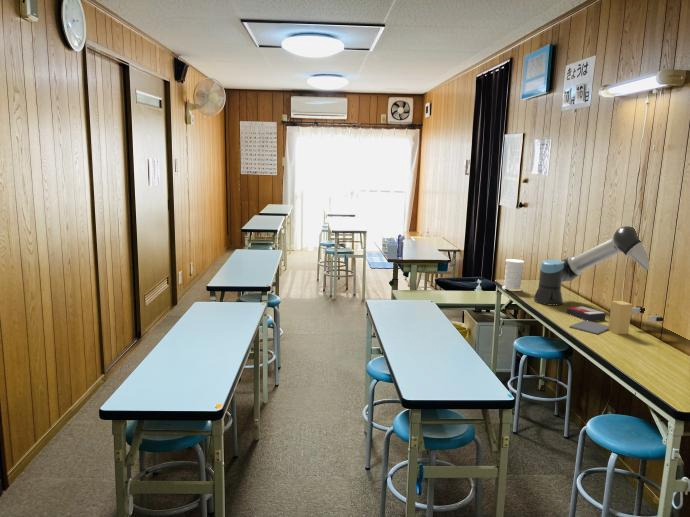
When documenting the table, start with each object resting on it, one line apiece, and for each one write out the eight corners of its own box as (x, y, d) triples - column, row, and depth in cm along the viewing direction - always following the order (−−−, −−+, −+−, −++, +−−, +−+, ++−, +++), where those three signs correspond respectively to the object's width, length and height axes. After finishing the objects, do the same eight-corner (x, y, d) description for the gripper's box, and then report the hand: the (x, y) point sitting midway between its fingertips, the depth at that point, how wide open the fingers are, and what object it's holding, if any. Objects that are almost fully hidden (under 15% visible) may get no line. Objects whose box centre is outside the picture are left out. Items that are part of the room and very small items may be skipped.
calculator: (582, 305, 283) (606, 311, 270) (581, 313, 284) (605, 320, 270) (566, 307, 279) (589, 313, 265) (565, 315, 279) (589, 321, 266)
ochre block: (618, 329, 254) (623, 301, 252) (628, 333, 248) (632, 304, 246) (607, 330, 253) (611, 301, 250) (616, 334, 247) (621, 304, 245)
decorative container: (525, 292, 323) (528, 262, 320) (506, 291, 322) (510, 262, 318) (516, 287, 335) (519, 259, 331) (498, 287, 333) (501, 258, 330)
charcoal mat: (585, 321, 266) (585, 320, 265) (612, 328, 256) (612, 326, 256) (569, 327, 254) (569, 326, 254) (597, 334, 245) (597, 333, 245)
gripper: (697, 329, 245) (657, 330, 240) (654, 314, 269) (618, 315, 264) (699, 313, 243) (660, 314, 239) (657, 299, 267) (620, 300, 263)
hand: (638, 314), depth 251 cm, fingers open, 13 cm apart
